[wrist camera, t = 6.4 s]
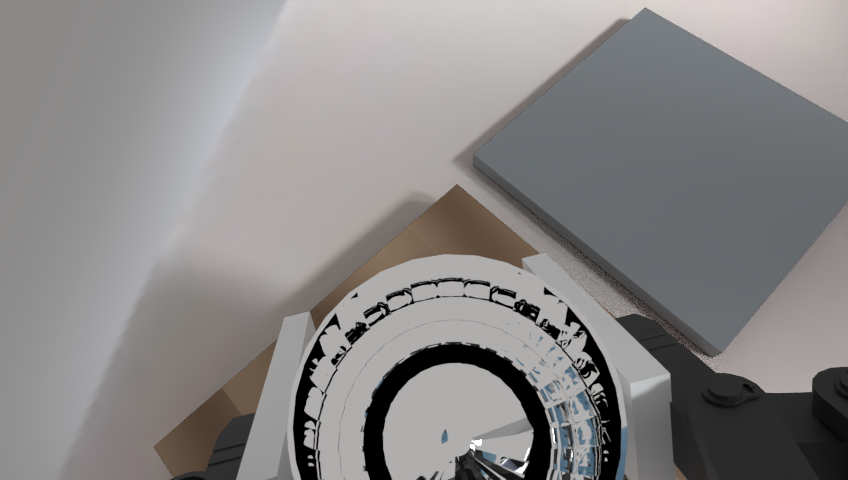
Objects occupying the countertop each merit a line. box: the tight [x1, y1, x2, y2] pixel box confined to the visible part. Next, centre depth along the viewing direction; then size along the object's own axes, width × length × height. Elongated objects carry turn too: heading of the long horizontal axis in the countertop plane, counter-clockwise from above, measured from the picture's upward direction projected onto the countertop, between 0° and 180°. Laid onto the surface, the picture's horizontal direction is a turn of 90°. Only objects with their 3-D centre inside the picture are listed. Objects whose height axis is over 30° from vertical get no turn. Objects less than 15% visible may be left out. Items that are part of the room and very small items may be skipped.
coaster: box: [473, 8, 848, 358], centre depth 22 cm, size 12×12×1 cm
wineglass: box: [287, 254, 628, 480], centre depth 13 cm, size 6×6×12 cm
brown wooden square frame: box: [154, 184, 687, 480], centre depth 17 cm, size 14×14×2 cm
